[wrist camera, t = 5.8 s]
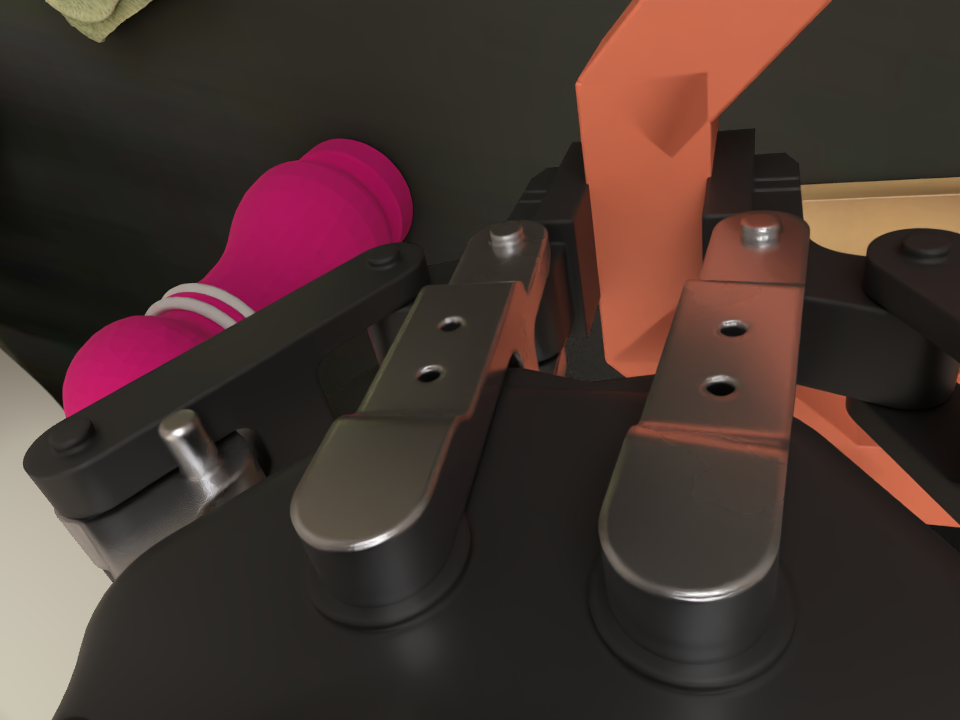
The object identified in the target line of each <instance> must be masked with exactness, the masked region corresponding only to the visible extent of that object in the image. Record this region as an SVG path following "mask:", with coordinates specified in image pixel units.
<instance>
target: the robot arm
mask: <svg viewBox="0 0 960 720" xmlns="http://www.w3.org/2000/svg"><path fill="white" fill-rule="evenodd" d="M754 150H755V128H754V129H741V130H728V131H718V132H717V138H716V146H715V153H714V161H713V168H712V176H711V177H708V178H707V184H706V191H705V198H704V205H703V212H702V268H701V271H700V275H699V278H698V280H695V279H687V280H686V282H685V284H684V286H683V289H682V293H681V296H680V299H679V302H678V305H677V308H676V311H675V314H674V317H673V320H672V323H671V326H670V330H669V333H668V336H667V339H666V342H665V345H664V348H663V351H662V354H661V357H660V360H659V363H658V366H657V370H656V373H655V374H652V375H644V376H636V377H628V378H619V379H611V380H603V381H594V382H585V381H580V380H575V379H571V378H566V377H564V376H565V371H566V366H567V360H566V353H565V344H566V341H567V339H568V337H575V338H588V335H589V332H590V329H591V325H592V322H593V319H594V316H595V313H596V309H597V306H598V303H599V300H600V297H601V295H600V285H599V276H598V267H597V257H596V248H595V238H594V229H593V219H592V210H591V201H590V191H589V184H586V179H585V170H584V161H583V152H582V143H581V142H573V143H572V144H571V146H570V147H569V149H568V151H567V153H566V155H565V157H564V159H563V161H562V163H561V165H560V167H555V168H547V169H545V170H544V171H542V172H541V173H539V174H538V175H537V176H535V177H534V178H532V179H531V180H530V182H529V184H528V186H527V187H526V189H525V191H524V194H522V196H521V198H520V199H519V204H517V205H516V206H515V208H514V210H513V212H512V213H511V215H510V217H509V218H508V220H507V221H504V222H500V223H496V224H493V225H490V226H488V227H486V228H484V229H482V230H480V231H478V232H477V233H476V234H474V235H473V236H472V237H471V239H470V240H469V242H468V244H467V246H466V249H465V251H464V253H463V255H462V257H461V259H460V260H456V261H452V262H446V263H441V264H436V265H431V266H427V263H426V259H425V255H424V251H423V249H422V248H421V247H420V246H418V245H416V244H413V243H407V242H396V243H389V244H384V245H380V246H377V247H374V248H371V249H369V250H367V251H365V252H363V253H361V254H359V255H357V256H356V257H354V258H352V259H350V260H348V261H347V262H345V263H343V264H341V265H340V266H338V267H336V268H334V269H332V270H331V271H329V272H327V273H325V274H323V275H322V276H320V277H318V278H316V279H314V280H313V281H311V282H309V283H307V284H306V285H304V286H302V287H300V288H298V289H297V290H295V291H293V292H291V293H289V294H288V295H286V296H284V297H282V298H281V299H279V300H277V301H275V302H273V303H272V304H270V305H268V306H266V307H264V308H263V309H261V310H259V311H257V312H255V313H254V314H252V315H250V316H248V317H247V318H245V319H243V320H241V321H239V322H238V323H236V324H234V325H232V326H230V327H229V328H227V329H225V330H223V331H221V332H220V333H218V334H216V335H214V336H213V337H211V338H209V339H207V340H205V341H204V342H202V343H200V344H198V345H196V346H195V347H193V348H191V349H189V350H188V351H186V352H184V353H182V354H180V355H179V356H177V357H175V358H173V359H171V360H170V361H168V362H166V363H164V364H162V365H161V366H159V367H157V368H155V369H154V370H152V371H150V372H148V373H146V374H145V375H143V376H141V377H139V378H137V379H136V380H134V381H132V382H130V383H128V384H127V385H125V386H123V387H121V388H120V389H118V390H116V391H114V392H112V393H111V394H109V395H107V396H105V397H103V398H102V399H100V400H98V401H96V402H95V403H93V404H91V405H89V406H87V407H86V408H84V409H82V410H80V411H78V412H77V413H75V414H73V415H71V416H69V417H68V418H66V419H64V420H63V421H61V422H59V423H57V424H56V425H54V426H52V427H51V428H50V429H48V430H47V431H46V432H44V433H43V434H42V435H41V436H40V437H39V438H38V439H36V440H35V441H34V443H33V444H32V445H31V446H30V448H29V449H28V451H27V452H26V454H25V456H24V459H23V467H24V469H25V471H26V472H27V474H28V475H29V476H30V477H31V479H32V480H33V481H34V482H35V484H36V485H37V486H38V488H39V489H40V490H41V492H42V493H43V494H44V495H45V497H46V498H47V499H48V500H49V502H50V503H51V504H52V506H53V507H54V510H55V514H56V515H57V517H58V518H59V520H60V521H61V522H62V523H63V525H64V526H65V527H66V528H67V530H68V531H69V532H70V534H71V535H72V536H73V537H74V539H75V540H76V541H77V542H78V544H79V545H80V546H81V547H82V549H83V550H84V551H85V553H86V554H87V555H88V556H89V558H90V559H91V560H92V561H93V563H94V564H95V565H96V566H98V567H99V568H101V569H103V571H104V572H105V573H106V574H107V576H108V577H109V578H110V580H111V581H112V582H113V584H112V585H111V586H110V587H109V589H108V590H107V591H106V593H105V594H104V596H103V597H102V599H101V601H100V602H99V604H98V606H97V607H96V609H95V611H94V613H93V615H92V617H91V619H90V621H89V623H88V626H87V628H86V631H85V635H84V638H83V641H82V645H81V648H80V652H79V656H78V660H77V663H76V666H75V669H74V672H73V674H72V677H71V680H70V683H69V685H68V688H67V690H66V692H65V694H64V696H63V699H62V701H61V703H60V705H59V707H58V709H57V711H56V713H55V715H54V717H53V719H52V720H960V552H958V551H957V550H956V549H955V548H954V547H953V546H951V545H950V544H949V543H948V542H947V541H946V540H944V539H943V538H942V537H941V536H940V535H938V534H937V533H936V532H935V531H934V530H933V529H931V528H930V527H929V526H928V525H927V524H926V523H924V522H923V521H922V520H921V519H920V518H919V517H917V516H916V515H915V514H914V513H913V512H911V511H910V510H909V509H908V508H907V507H906V506H904V505H903V504H902V503H901V502H900V501H899V500H897V499H896V498H895V497H894V496H893V495H892V494H890V493H889V492H888V491H887V490H886V489H885V488H883V487H882V486H881V485H880V484H879V483H877V482H876V481H875V480H874V479H873V478H872V477H870V476H869V475H868V474H867V473H866V472H865V471H863V470H862V469H861V468H860V467H859V466H858V465H856V464H855V463H854V462H853V461H852V460H851V459H849V458H848V457H847V456H846V455H845V454H843V453H842V452H841V451H840V450H839V449H838V448H836V447H835V446H834V445H833V444H832V443H831V442H829V441H828V440H827V439H826V438H825V437H823V436H822V435H821V434H820V433H818V432H817V431H816V430H814V429H813V428H811V427H810V426H808V425H807V424H805V423H804V422H802V421H801V420H799V419H798V418H796V417H794V410H795V399H796V388H797V385H801V386H805V387H809V388H813V389H817V390H822V391H826V392H830V393H834V394H838V395H842V396H846V404H845V406H846V410H847V412H848V414H849V416H850V417H851V418H852V419H853V421H854V422H855V423H856V424H857V425H859V426H860V427H861V428H862V429H863V430H864V431H865V432H866V433H867V434H868V435H869V436H870V437H871V438H872V439H873V440H874V441H875V442H876V443H877V444H878V445H879V446H880V447H881V448H882V449H883V450H884V451H885V452H886V453H887V454H888V455H889V456H890V457H891V458H892V459H893V460H894V461H895V462H896V463H897V464H898V465H899V466H900V467H901V468H902V469H903V470H904V471H905V472H906V473H907V474H908V475H909V476H910V477H911V478H912V479H913V480H914V481H915V482H916V483H917V484H918V485H919V486H920V487H921V488H922V489H923V490H924V491H925V492H926V493H928V494H929V495H930V496H931V497H932V498H933V499H934V500H935V501H936V502H937V503H938V504H939V505H940V506H941V507H942V508H943V509H944V510H945V511H946V512H947V513H948V514H949V515H950V516H951V517H952V518H953V519H954V520H955V521H956V522H957V523H958V524H959V525H960V384H959V383H957V382H956V381H957V377H958V373H959V369H960V234H959V233H956V232H952V231H947V230H941V229H931V228H911V229H902V230H896V231H892V232H889V233H886V234H883V235H881V236H879V237H877V238H875V239H874V240H872V241H871V243H870V244H869V245H868V248H867V252H866V256H861V255H854V254H848V253H842V252H838V251H834V250H830V249H828V248H825V247H822V246H820V245H818V244H817V243H815V242H814V241H812V240H811V239H810V227H809V225H808V223H807V222H806V221H805V220H804V218H803V207H802V195H801V184H800V172H799V163H797V162H796V161H795V160H794V159H792V158H791V157H790V156H789V155H787V154H786V153H774V154H758V155H754ZM366 328H367V330H368V333H369V336H370V339H371V342H372V345H373V348H374V351H375V354H376V357H377V360H378V364H376V365H375V366H373V367H372V368H370V369H369V370H367V371H366V372H364V373H363V374H361V375H360V376H358V377H357V378H355V379H354V380H352V381H351V382H349V383H348V384H346V385H345V386H343V387H342V388H340V389H339V390H337V391H336V392H334V393H333V394H331V395H330V396H328V397H327V398H326V397H325V394H324V392H323V389H322V387H321V385H320V382H319V379H318V368H319V365H320V362H321V360H322V359H323V358H324V356H325V355H326V354H327V353H328V352H330V351H331V350H333V349H334V348H336V347H338V346H339V345H341V344H342V343H344V342H346V341H347V340H349V339H350V338H352V337H354V336H355V335H357V334H358V333H360V332H362V331H363V330H365V329H366Z"/></svg>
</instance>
